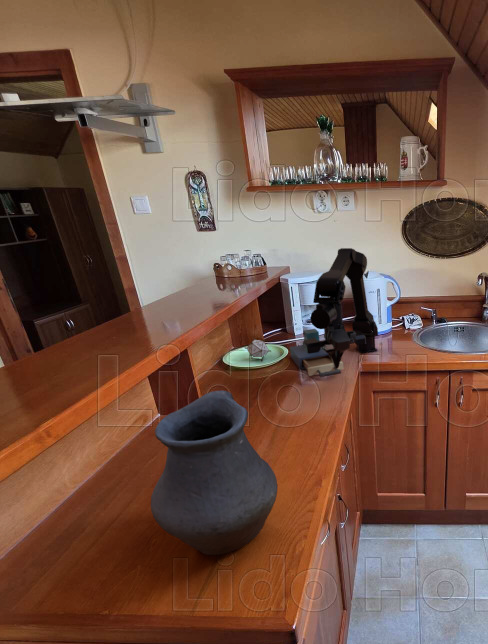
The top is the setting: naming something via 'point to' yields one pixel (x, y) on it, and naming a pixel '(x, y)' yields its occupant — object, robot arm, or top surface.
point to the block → (311, 334)
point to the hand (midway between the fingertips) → (336, 367)
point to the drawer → (321, 366)
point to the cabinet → (304, 355)
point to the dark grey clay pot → (212, 477)
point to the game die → (257, 348)
